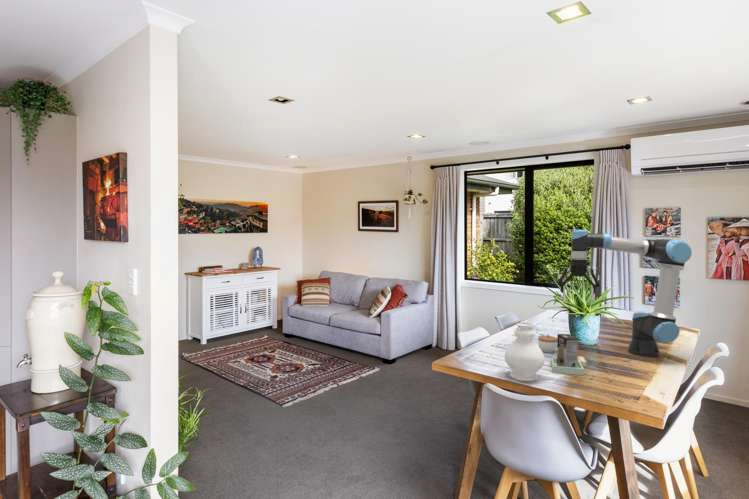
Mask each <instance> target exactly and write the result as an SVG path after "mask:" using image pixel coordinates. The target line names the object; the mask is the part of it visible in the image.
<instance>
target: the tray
mask: <svg viewBox="0 0 749 499" xmlns="http://www.w3.org/2000/svg"><path fill="white" fill-rule="evenodd" d="M550 365H551V370H552V373H555V374H565V375H573V376H575V375H576V376H584V375H585V368H584V366H582V364H581V362H580V360H577V368H572V367H562V366H557V357H550Z"/></svg>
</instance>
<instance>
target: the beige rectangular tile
mask: <svg viewBox="0 0 749 499" xmlns="http://www.w3.org/2000/svg"><path fill="white" fill-rule="evenodd" d="M577 360H580V362H581V364H582V366H583V367H587V366H588V362H587V360H586V359H585V357H584V356H582V355H581V356H580V355H578V359H577Z"/></svg>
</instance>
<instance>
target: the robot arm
mask: <svg viewBox="0 0 749 499" xmlns="http://www.w3.org/2000/svg"><path fill="white" fill-rule="evenodd" d="M570 239H571V253H570V254H571V257H570V258H571V260H570V268H568V267H564V269H563V273H562V274H561V276H560V278H559V279H558V280H557V286H560V292H561V293H562V299H563V300H565V299H566V286H565V285H566V284H567V283H568V282H569V281H570V280H571V279H572V278H574V277H578V278H582V277H584V278H585V279H586V281H587V282H588V283H589V284H590V285H591V287H590V300H591V301H594V295H595V294H596V293H597V292H596V291H597V288H599V287H601V284H600V282H599V281H598V278H597V276H596V274H595V273H594V268H592V267H590V268H588V267H587V265H588V261H587V259H588V248H589V249H590V248H592V249H599V250H601V249H602V250H607V251H613V252H614V251H616V252H622V253H630V254H636V255H637V254H638V255H639V256H640V257H646V258H649V259H655V260H657V264H658V266H659V267H660V270H659V274H658V275H659V276H658V282H657V288H656V295H655V300H654V307H653V311H652V312H634V313H633V314H632V325H631V327H632V330H631V331H632V332H631V333H632V334H631V339H630V342H629V344H628V347H627V352H628V353H629V354H632V355H635V356H638V355H639V357H644V356H646V357H645V358H656V357H657V356H658V357H659V356H660V352H661V351H660V348H659V346H658V343H662V344H670V343H672V342H673V341H675V340H676V339H677V338H678V337H679V334H680V329H679V326H678V325H677V323H676V321H677V318H676V316H674V311H675V310H674V309H675V304H676V300H677V299H676V297H677V292H678V285H679V279H680V272H681V270H682V269H683V268H684V267H685V263H686V262H688V261H689V260H690V259H691V257H692V248H691V246H690V245H689V244H688V243H687V242H686V241H684V240H681V239H673V238H672V239H671V238H670V239H667V238H666V239H664V238H661V239H658V238H657V239H656V238H655V239H649V238H648V239H646V238H641V239H632V238H625V237H619V236H611V235H610V233H594V232H593V233H589V231H588V230H587V229H573V230H572V232H571V238H570ZM569 271H570V274H569V275H568V276H567V277H566V275H567V273H568V272H569ZM587 272H588V273H590V275H591V277H592V279H593V281H594V282H593V281H592V280H591V278H590V277H588V275H587ZM565 277H566V279H564V278H565ZM647 356H648V357H647Z"/></svg>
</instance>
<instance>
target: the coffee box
mask: <svg viewBox="0 0 749 499" xmlns="http://www.w3.org/2000/svg"><path fill="white" fill-rule="evenodd" d="M557 338H558V341H557V349H556V350H557V351H556V352H557V353H556V354H557V355H556V358H557V366H562V367H572V368H577V359H578V356H579V355H578V353H579V338H577V337H575V336H574V335H572V334H567V333H564V334H563V333H557Z"/></svg>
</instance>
